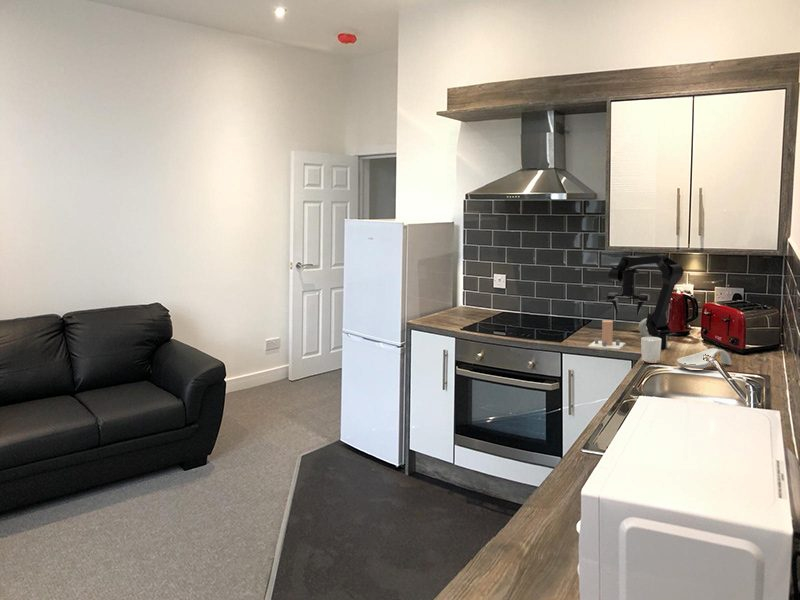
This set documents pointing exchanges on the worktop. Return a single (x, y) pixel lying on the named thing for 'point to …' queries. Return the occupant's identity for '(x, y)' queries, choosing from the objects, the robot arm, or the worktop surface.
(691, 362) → the spoon rest
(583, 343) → the worktop surface
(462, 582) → the worktop surface
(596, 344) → the peg board
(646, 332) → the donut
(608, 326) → the terracotta block
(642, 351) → the white cup
